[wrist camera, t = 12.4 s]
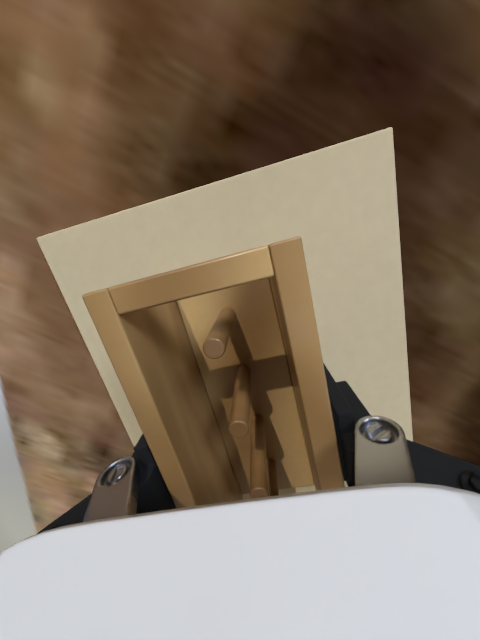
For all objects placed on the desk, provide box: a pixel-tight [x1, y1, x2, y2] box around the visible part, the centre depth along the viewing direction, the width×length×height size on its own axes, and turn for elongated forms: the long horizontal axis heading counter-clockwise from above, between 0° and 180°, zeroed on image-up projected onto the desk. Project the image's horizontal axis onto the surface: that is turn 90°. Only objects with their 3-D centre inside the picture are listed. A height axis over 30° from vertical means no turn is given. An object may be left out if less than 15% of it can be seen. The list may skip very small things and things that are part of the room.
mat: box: [37, 127, 413, 500], centre depth 13 cm, size 16×20×1 cm
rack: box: [82, 236, 345, 508], centre depth 10 cm, size 6×14×5 cm, turn 14°
